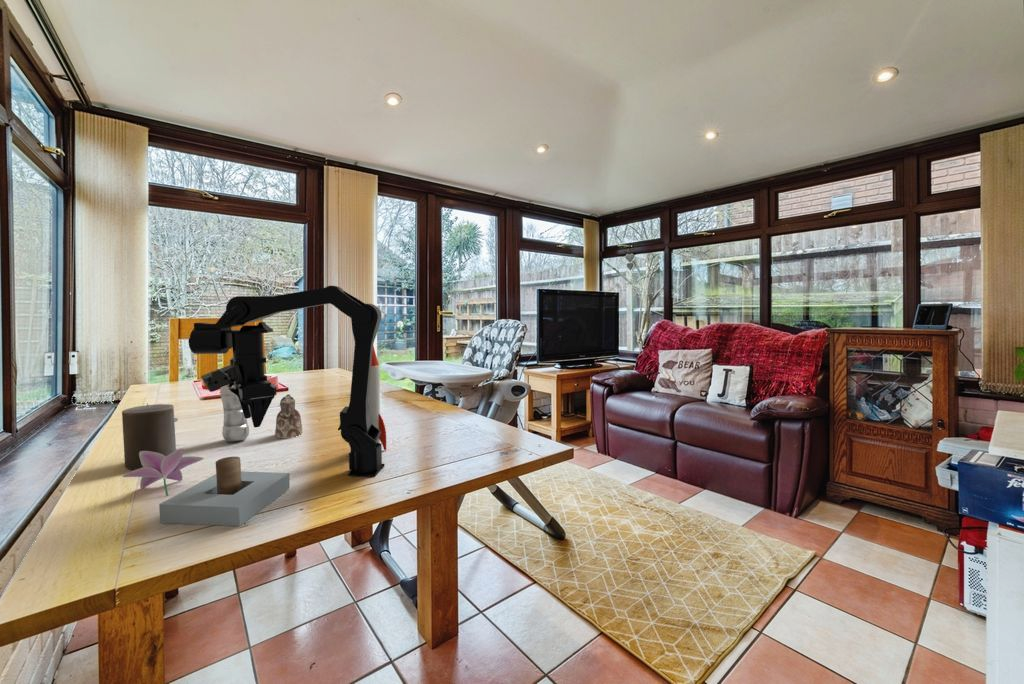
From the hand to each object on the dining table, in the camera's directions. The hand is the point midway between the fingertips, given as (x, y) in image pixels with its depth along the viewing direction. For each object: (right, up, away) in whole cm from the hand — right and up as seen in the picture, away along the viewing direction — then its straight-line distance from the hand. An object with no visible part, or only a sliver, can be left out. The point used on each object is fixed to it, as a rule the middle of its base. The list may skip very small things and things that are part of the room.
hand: (252, 422), depth 93 cm
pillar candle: (-31, -12, +10) cm, 35 cm away
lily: (-16, -14, -5) cm, 21 cm away
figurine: (-9, -10, +32) cm, 34 cm away
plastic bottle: (-21, -11, +26) cm, 35 cm away
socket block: (+3, -14, -11) cm, 18 cm away
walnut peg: (+3, -14, -11) cm, 18 cm away
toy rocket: (+21, -11, +20) cm, 31 cm away
